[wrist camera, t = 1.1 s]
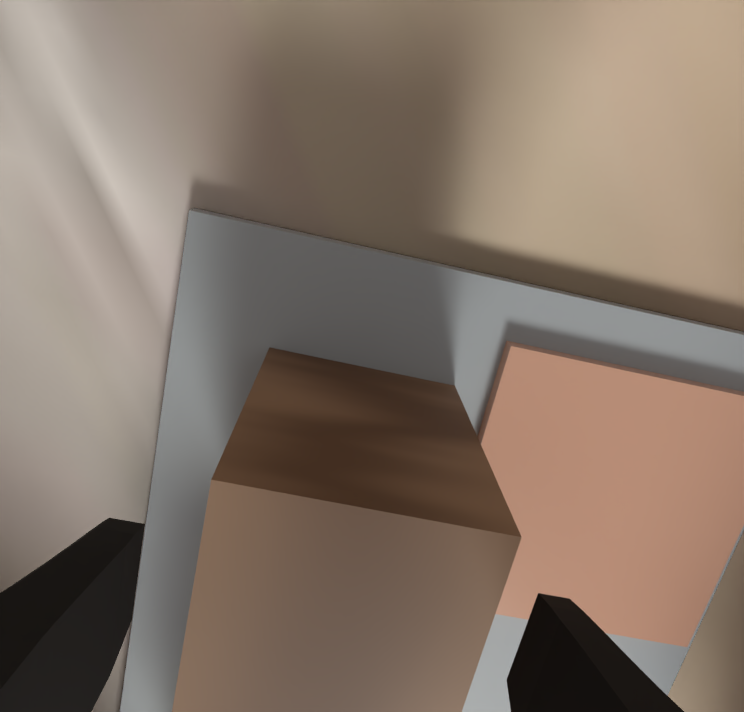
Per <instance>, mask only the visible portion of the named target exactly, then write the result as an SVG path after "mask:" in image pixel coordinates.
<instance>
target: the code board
mask: <svg viewBox="0 0 744 712" xmlns="http://www.w3.org/2000/svg"><path fill="white" fill-rule="evenodd" d="M506 341H511V342H516V343H520V344H525V345H530V346H534V347H539V348H544V349H548V350H553V351H557V352H562V353H567V354H571V355H576V356H581V357H585V358H590V359H595V360H599V361H604V362H608V363H613V364H618V365H622V366H627V367H632V368H636V369H641V370H646V371H650V372H655V373H659V374H664V375H669V376H673V377H678V378H683V379H687V380H692V381H697V382H701V383H706V384H710V385H715V386H720V387H724V388H729V389H734V390H738V391H743V392H744V332H742V331H738V330H733V329H729V328H724V327H720V326H716V325H711V324H707V323H702V322H698V321H693V320H689V319H684V318H680V317H676V316H671V315H667V314H662V313H658V312H653V311H649V310H645V309H640V308H636V307H631V306H627V305H622V304H618V303H613V302H609V301H605V300H600V299H596V298H591V297H587V296H582V295H578V294H574V293H569V292H565V291H560V290H556V289H551V288H547V287H542V286H538V285H534V284H529V283H525V282H520V281H516V280H511V279H507V278H503V277H498V276H494V275H489V274H485V273H480V272H476V271H472V270H467V269H463V268H458V267H454V266H449V265H445V264H440V263H436V262H432V261H427V260H423V259H418V258H414V257H409V256H405V255H401V254H396V253H392V252H387V251H383V250H378V249H374V248H369V247H365V246H361V245H356V244H352V243H347V242H343V241H338V240H334V239H330V238H325V237H321V236H316V235H312V234H307V233H303V232H298V231H294V230H290V229H285V228H281V227H276V226H272V225H267V224H263V223H259V222H254V221H250V220H245V219H241V218H236V217H232V216H227V215H223V214H219V213H214V212H210V211H205V210H201V209H196V208H194V209H191V210H189V214H188V222H187V229H186V236H185V243H184V251H183V258H182V265H181V272H180V280H179V287H178V294H177V301H176V309H175V316H174V323H173V330H172V338H171V345H170V352H169V359H168V366H167V374H166V381H165V388H164V395H163V403H162V410H161V417H160V424H159V432H158V439H157V446H156V453H155V461H154V468H153V475H152V482H151V490H150V497H149V504H148V511H147V519H146V526H145V533H144V540H143V547H142V555H141V562H140V569H139V576H138V584H137V591H136V598H135V605H134V613H133V620H132V627H131V634H130V642H129V649H128V656H127V663H126V671H125V678H124V685H123V692H122V699H121V707H120V712H172V708H173V702H174V696H175V690H176V684H177V678H178V672H179V666H180V661H181V655H182V649H183V643H184V637H185V631H186V625H187V619H188V613H189V607H190V602H191V596H192V590H193V584H194V578H195V572H196V566H197V560H198V554H199V548H200V543H201V537H202V531H203V525H204V519H205V513H206V507H207V501H208V495H209V489H210V483H211V479H212V477H213V474H214V472H215V470H216V467H217V465H218V463H219V461H220V458H221V456H222V454H223V452H224V449H225V447H226V445H227V443H228V440H229V438H230V436H231V433H232V431H233V429H234V427H235V424H236V422H237V420H238V418H239V415H240V413H241V411H242V409H243V406H244V404H245V402H246V399H247V397H248V395H249V393H250V390H251V388H252V386H253V384H254V381H255V379H256V377H257V374H258V372H259V370H260V368H261V365H262V363H263V361H264V359H265V356H266V354H267V352H268V350H269V347H270V348H275V349H280V350H285V351H290V352H294V353H299V354H304V355H309V356H314V357H319V358H323V359H328V360H333V361H338V362H343V363H348V364H352V365H357V366H362V367H367V368H372V369H377V370H381V371H386V372H391V373H396V374H401V375H406V376H410V377H415V378H420V379H425V380H430V381H435V382H439V383H444V384H449V385H454V386H455V387H456V389H457V392H458V394H459V396H460V398H461V401H462V403H463V405H464V407H465V410H466V412H467V414H468V417H469V419H470V421H471V423H472V426H473V428H474V430H475V432H476V435H477V436H478V433H479V430H480V426H481V423H482V420H483V416H484V413H485V410H486V406H487V403H488V400H489V397H490V393H491V390H492V387H493V383H494V380H495V377H496V373H497V370H498V367H499V364H500V360H501V357H502V354H503V350H504V347H505V344H506ZM743 531H744V526H743V528H742V530H741V532H740V534H739V536H738V539H737V541H736V543H735V545H734V547H733V549H732V552H731V554H730V556H729V558H728V560H727V562H726V565H725V567H724V569H723V571H722V573H721V575H720V578H719V580H718V582H717V584H716V586H715V588H714V591H713V593H712V595H711V597H710V599H709V601H708V604H707V606H706V608H705V610H704V612H703V614H702V617H701V619H700V621H699V623H698V625H697V627H696V630H695V632H694V634H693V636H692V638H691V640H690V643H689V645H688V647H683V646H677V645H671V644H666V643H660V642H654V641H648V640H642V639H637V638H631V637H625V636H619V635H614V634H608V633H606V634H607V635H608V636H609V637H610V638H611V639H612V641H613V642H614V643H615V644H616V645H617V646H618V647H619V648H620V649H621V650H622V651H623V652H624V653H625V654H626V655H627V656H628V657H629V658H630V659H631V660H632V661H633V662H634V663H635V664H636V665H637V666H638V667H639V668H640V669H641V670H642V671H643V672H644V673H645V674H646V675H647V676H648V677H649V678H650V679H651V680H652V681H653V682H654V683H655V684H656V685H657V686H658V687H659V688H660V689H661V690H662V691H663V692H664V693H665V694H666V695H668V693H669V691H670V689H671V687H672V685H673V682H674V680H675V678H676V676H677V674H678V672H679V670H680V667H681V665H682V663H683V661H684V659H685V657H686V654H687V652H688V650H689V648H690V646H691V644H692V641H693V639H694V637H695V635H696V633H697V631H698V628H699V626H700V624H701V622H702V620H703V618H704V616H705V613H706V611H707V609H708V607H709V605H710V603H711V600H712V598H713V596H714V594H715V592H716V590H717V587H718V585H719V583H720V581H721V579H722V577H723V574H724V572H725V570H726V568H727V566H728V564H729V561H730V559H731V557H732V555H733V553H734V551H735V549H736V546H737V544H738V542H739V540H740V538H741V536H742V533H743ZM527 622H528V620H527V619H521V618H515V617H509V616H504V615H498V614H495V616H494V619H493V622H492V625H491V628H490V631H489V634H488V637H487V640H486V643H485V646H484V648H483V651H482V654H481V657H480V660H479V663H478V666H477V669H476V672H475V675H474V678H473V680H472V683H471V686H470V689H469V692H468V695H467V698H466V701H465V704H464V707H463V710H462V712H511V708H510V701H509V694H508V687H507V677H508V674H509V672H510V669H511V666H512V663H513V661H514V658H515V655H516V652H517V650H518V647H519V644H520V642H521V639H522V636H523V633H524V631H525V628H526V625H527Z"/></svg>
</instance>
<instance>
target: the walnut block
mask: <svg viewBox="0 0 744 712" xmlns="http://www.w3.org/2000/svg"><path fill="white" fill-rule="evenodd" d="M521 538H522V537H521V535H520V532H519V530H518V528H517V525H516V523H515V521H514V519H513V516H512V514H511V512H510V510H509V507H508V505H507V503H506V501H505V498H504V496H503V494H502V491H501V489H500V487H499V485H498V482H497V480H496V478H495V476H494V473H493V471H492V469H491V466H490V464H489V462H488V460H487V457H486V455H485V453H484V451H483V448H482V446H481V444H480V442H479V439H478V437H477V435H476V432H475V430H474V428H473V426H472V423H471V421H470V419H469V417H468V414H467V412H466V410H465V407H464V405H463V403H462V401H461V398H460V396H459V394H458V392H457V389H456V387H455V386H454V385H449V384H444V383H439V382H435V381H430V380H425V379H420V378H415V377H410V376H406V375H401V374H396V373H391V372H386V371H381V370H377V369H372V368H367V367H362V366H357V365H352V364H348V363H343V362H338V361H333V360H328V359H323V358H319V357H314V356H309V355H304V354H299V353H294V352H290V351H285V350H280V349H275V348H270V347H269V350H268V352H267V354H266V356H265V359H264V361H263V363H262V365H261V368H260V370H259V372H258V374H257V377H256V379H255V381H254V384H253V386H252V388H251V390H250V393H249V395H248V397H247V399H246V402H245V404H244V406H243V409H242V411H241V413H240V415H239V418H238V420H237V422H236V424H235V427H234V429H233V431H232V433H231V436H230V438H229V440H228V443H227V445H226V447H225V449H224V452H223V454H222V456H221V458H220V461H219V463H218V465H217V467H216V470H215V472H214V474H213V477H212V479H211V483H210V489H209V495H208V501H207V507H206V513H205V519H204V525H203V531H202V537H201V543H200V548H199V554H198V560H197V566H196V572H195V578H194V584H193V590H192V596H191V602H190V607H189V613H188V619H187V625H186V631H185V637H184V643H183V649H182V655H181V661H180V666H179V672H178V678H177V684H176V690H175V696H174V702H173V708H172V712H462V710H463V707H464V704H465V701H466V698H467V695H468V692H469V689H470V686H471V683H472V680H473V678H474V675H475V672H476V669H477V666H478V663H479V660H480V657H481V654H482V651H483V648H484V646H485V643H486V640H487V637H488V634H489V631H490V628H491V625H492V622H493V619H494V616H495V614H496V611H497V608H498V605H499V602H500V599H501V596H502V593H503V590H504V587H505V584H506V581H507V579H508V576H509V573H510V570H511V567H512V564H513V561H514V558H515V555H516V552H517V549H518V547H519V544H520V541H521Z"/></svg>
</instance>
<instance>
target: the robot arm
mask: <svg viewBox="0 0 744 712" xmlns="http://www.w3.org/2000/svg"><path fill="white" fill-rule="evenodd" d="M144 525H145V524H141V523H135V522H130V521H124V520H118V519H112V518H108V519H107V520H105V521H104V522H102V523H100V524H99V525H98V526H96V527H95V528H93V529H92V530H91V531H89V532H88V533H87V534H85V535H84V536H82V537H81V538H80V539H78V540H77V541H76V542H74V543H73V544H71V545H70V546H69V547H67V548H66V549H64V550H63V551H62V552H60V553H59V554H57V555H56V556H55V557H53V558H52V559H50V560H49V561H48V562H46V563H45V564H43V565H42V566H40V567H39V568H37V569H36V570H34V571H33V572H31V573H30V574H28V575H27V576H25V577H24V578H22V579H21V580H19V581H18V582H16V583H15V584H13V585H12V586H10V587H9V588H7V589H6V590H4V591H3V592H1V593H0V712H91V711H92V709H93V707H94V705H95V703H96V701H97V699H98V697H99V695H100V693H101V692H102V690H103V688H104V686H105V684H106V682H107V680H108V678H109V676H110V674H111V671H112V669H113V666H114V664H115V661H116V659H117V656H118V654H119V651H120V649H121V646H122V643H123V641H124V638H125V636H126V633H127V630H128V628H129V625H130V623H131V620H132V613H133V606H134V598H135V591H136V584H137V577H138V569H139V562H140V555H141V547H142V540H143V533H144ZM507 687H508V694H509V701H510V708H511V712H684V711H683V710H682V709H681V708H680V707H678V706H677V705H676V704H675V703H674V702H673V701H672V700H671V699H670V698H669V697H668V696H667V695H666V694H665V693H664V692H663V691H662V690H661V689H660V688H659V687H658V686H657V685H656V684H655V683H654V682H653V681H652V680H651V679H650V678H649V677H648V676H647V675H646V674H645V673H644V672H643V671H642V670H641V669H640V668H639V667H638V666H637V665H636V664H635V663H634V662H633V661H632V660H631V659H630V658H629V657H628V656H627V655H626V654H625V653H624V652H623V651H622V650H621V649H620V648H619V647H618V646H617V645H616V644H615V643H614V642H613V641H612V639H611V638H610V637H609V636H608V635H607V634H606V633H605V632H604V631H603V630H602V629H601V628H600V627H599V626H598V625H597V624H596V623H595V622H594V621H593V620H592V619H591V618H590V617H589V616H588V615H587V614H586V613H585V612H584V611H583V610H582V609H581V608H580V607H578V606H577V605H576V604H575V603H574V602H573V601H572V600H571V599H569V598H564V597H558V596H552V595H547V594H541V593H538V595H537V598H536V600H535V603H534V606H533V609H532V611H531V614H530V617H529V620H528V622H527V625H526V628H525V631H524V633H523V636H522V639H521V642H520V644H519V647H518V650H517V652H516V655H515V658H514V661H513V663H512V666H511V669H510V672H509V674H508V677H507Z"/></svg>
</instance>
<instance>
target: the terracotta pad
mask: <svg viewBox="0 0 744 712" xmlns="http://www.w3.org/2000/svg"><path fill="white" fill-rule="evenodd" d="M477 437H478V439H479V442H480V444H481V446H482V448H483V451H484V453H485V455H486V457H487V460H488V462H489V464H490V466H491V469H492V471H493V473H494V476H495V478H496V480H497V482H498V485H499V487H500V489H501V491H502V494H503V496H504V498H505V501H506V503H507V505H508V507H509V510H510V512H511V514H512V516H513V519H514V521H515V523H516V525H517V528H518V530H519V532H520V535H521V537H522V538H521V541H520V544H519V547H518V549H517V552H516V555H515V558H514V561H513V564H512V567H511V570H510V573H509V576H508V579H507V581H506V584H505V587H504V590H503V593H502V596H501V599H500V602H499V605H498V608H497V611H496V614H498V615H504V616H509V617H515V618H521V619H527V620H529V617H530V614H531V611H532V609H533V606H534V603H535V600H536V598H537V595H538V593H541V594H547V595H552V596H558V597H564V598H569V599H571V600H572V601H573V602H574V603H575V604H576V605H577V606H578V607H580V608H581V609H582V610H583V611H584V612H585V613H586V614H587V615H588V616H589V617H590V618H591V619H592V620H593V621H594V622H595V623H596V624H597V625H598V626H599V627H600V628H601V629H602V630H603V631H604V632H605V633H608V634H614V635H619V636H625V637H631V638H637V639H642V640H648V641H654V642H660V643H666V644H671V645H677V646H683V647H688V645H689V643H690V640H691V638H692V636H693V634H694V632H695V630H696V627H697V625H698V623H699V621H700V619H701V617H702V614H703V612H704V610H705V608H706V606H707V604H708V601H709V599H710V597H711V595H712V593H713V591H714V588H715V586H716V584H717V582H718V580H719V578H720V575H721V573H722V571H723V569H724V567H725V565H726V562H727V560H728V558H729V556H730V554H731V552H732V549H733V547H734V545H735V543H736V541H737V539H738V536H739V534H740V532H741V530H742V528H743V526H744V392H743V391H738V390H734V389H729V388H724V387H720V386H715V385H710V384H706V383H701V382H697V381H692V380H687V379H683V378H678V377H673V376H669V375H664V374H659V373H655V372H650V371H646V370H641V369H636V368H632V367H627V366H622V365H618V364H613V363H608V362H604V361H599V360H595V359H590V358H585V357H581V356H576V355H571V354H567V353H562V352H557V351H553V350H548V349H544V348H539V347H534V346H530V345H525V344H520V343H516V342H511V341H506V344H505V347H504V350H503V354H502V357H501V360H500V364H499V367H498V370H497V373H496V377H495V380H494V383H493V387H492V390H491V393H490V397H489V400H488V403H487V406H486V410H485V413H484V416H483V420H482V423H481V426H480V430H479V433H478V436H477Z"/></svg>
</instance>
